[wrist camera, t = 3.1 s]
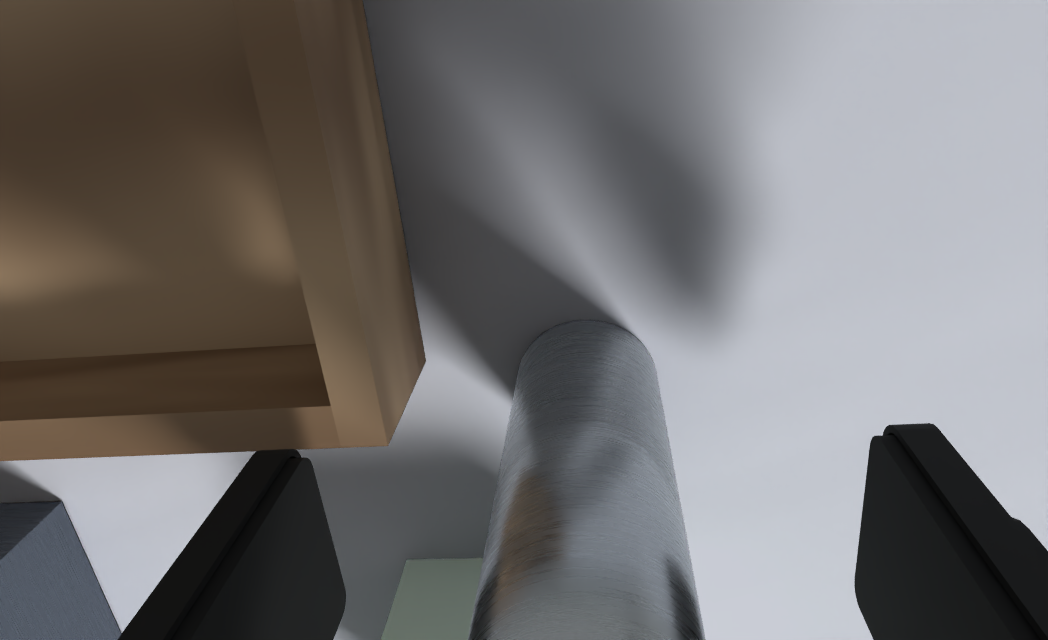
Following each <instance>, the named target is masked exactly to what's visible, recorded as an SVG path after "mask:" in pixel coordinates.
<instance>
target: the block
mask: <svg viewBox="0 0 1048 640" xmlns="http://www.w3.org/2000/svg"><path fill="white" fill-rule="evenodd" d="M120 635H121V632H120V630H119V628H118V626H117V623H116V621H115V619H114V617H113V615H112V612H111V610H110V608H109V606H108V603H107V601H106V599H105V597H104V595H103V592H102V590H101V588H100V586H99V583H98V581H97V579H96V577H95V575H94V572H93V570H92V568H91V566H90V564H89V561H88V559H87V557H86V555H85V552H84V550H83V548H82V546H81V544H80V541H79V539H78V537H77V535H76V532H75V530H74V528H73V526H72V524H71V521H70V519H69V517H68V515H67V512H66V510H65V508H64V506H63V504H62V502H39V503H7V504H0V640H117V639H118V638H119V637H120Z"/></svg>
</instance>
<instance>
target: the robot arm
mask: <svg viewBox="0 0 1048 640" xmlns="http://www.w3.org/2000/svg"><path fill="white" fill-rule="evenodd" d="M855 593H856V598H857V602H858V605H859V608H860V610H861V613H862V615H863V617H864V619H865V621H866V624H867V626H868V628H869V630H870V633H871V635H872V637H873V639H874V640H1048V551H1047V550H1046V549H1045V547H1044V546H1043V545H1042V544H1041V543H1040V541H1039V540H1038V539H1037V538H1036V537H1035V535H1034V534H1033V533H1032V532H1031V531H1030V529H1029V528H1027V527H1026V526H1025V525H1024V524H1023V523H1022V522H1021V521H1020V520H1017V519H1015V518H1012V517H1011V516H1010V515H1009V514H1008V513H1007V512H1006V510H1005V509H1004V508H1003V507H1002V505H1001V504H1000V503H999V502H998V501H997V499H996V498H995V497H994V496H993V494H992V493H991V492H990V491H989V490H988V488H987V487H986V486H985V485H984V484H983V482H982V481H981V480H980V479H979V477H978V476H977V475H976V474H975V473H974V471H973V470H972V469H971V468H970V467H969V465H968V464H967V463H966V462H965V460H964V459H963V458H962V457H961V456H960V454H959V453H958V452H957V451H956V450H955V448H954V447H953V446H952V445H951V443H950V442H949V441H948V440H947V439H946V437H945V436H944V435H943V434H942V433H941V431H940V430H939V429H938V428H937V427H936V426H935V425H934V424H930V423H927V424H902V425H889V426H887V427H886V428H885V430H884V432H883V436H874V437H873V438H872V440H871V443H870V450H869V459H868V467H867V476H866V485H865V493H864V502H863V511H862V520H861V528H860V537H859V546H858V555H857V563H856V572H855ZM345 602H346V592H345V586H344V583H343V579H342V575H341V571H340V567H339V564H338V560H337V556H336V552H335V549H334V545H333V541H332V537H331V534H330V530H329V526H328V522H327V518H326V515H325V511H324V507H323V503H322V500H321V496H320V492H319V488H318V485H317V481H316V477H315V473H314V469H313V466H312V463H311V461H310V460H309V459H308V458H301V455H300V454H299V452H298V451H297V450H295V449H278V450H260V451H256V452H255V453H254V454H253V455H252V457H251V458H250V459H249V461H248V462H247V464H246V465H245V466H244V468H243V469H242V470H241V472H240V473H239V474H238V476H237V477H236V479H235V480H234V481H233V483H232V484H231V485H230V487H229V488H228V489H227V491H226V492H225V494H224V495H223V496H222V498H221V499H220V500H219V502H218V503H217V504H216V506H215V507H214V509H213V510H212V511H211V513H210V514H209V515H208V517H207V518H206V519H205V521H204V522H203V524H202V525H201V526H200V528H199V529H198V530H197V532H196V533H195V534H194V536H193V537H192V539H191V540H190V541H189V543H188V544H187V545H186V547H185V548H184V549H183V551H182V552H181V554H180V555H179V556H178V558H177V559H176V560H175V562H174V563H173V564H172V566H171V567H170V569H169V570H168V571H167V573H166V574H165V575H164V577H163V578H162V579H161V581H160V582H159V584H158V585H157V586H156V588H155V589H154V590H153V592H152V593H151V594H150V596H149V597H148V599H147V600H146V601H145V603H144V604H143V605H142V607H141V608H140V609H139V611H138V612H137V614H136V615H135V616H134V618H133V619H132V620H131V622H130V623H129V624H128V626H127V627H126V629H125V630H124V631H123V633H122V634H121V635H120V637H119V638H118V639H117V640H333V639H334V636H335V634H336V631H337V629H338V626H339V624H340V621H341V618H342V616H343V613H344V609H345Z"/></svg>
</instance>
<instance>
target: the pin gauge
mask: <svg viewBox="0 0 1048 640" xmlns="http://www.w3.org/2000/svg"><path fill="white" fill-rule="evenodd" d="M468 640H706V639H705V634H704V629H703V623H702V618H701V612H700V607H699V601H698V596H697V590H696V585H695V579H694V574H693V569H692V563H691V558H690V552H689V547H688V541H687V536H686V530H685V525H684V520H683V514H682V509H681V503H680V498H679V492H678V487H677V481H676V476H675V470H674V465H673V460H672V454H671V449H670V443H669V438H668V432H667V427H666V421H665V416H664V410H663V405H662V400H661V394H660V389H659V383H658V378H657V372H656V368H655V365H654V362H653V360H652V357H651V355H650V354H649V352H648V350H647V349H646V348H645V346H644V345H643V344H642V343H641V342H640V341H639V340H638V339H637V338H636V337H635V336H633V335H632V334H631V333H629V332H628V331H626V330H624V329H622V328H620V327H618V326H616V325H613V324H610V323H606V322H602V321H596V320H578V321H571V322H567V323H563V324H560V325H558V326H555V327H553V328H551V329H549V330H547V331H546V332H544V333H543V334H542V335H540V336H539V337H538V338H537V339H536V340H535V341H534V342H533V343H532V344H531V345H530V346H529V348H528V349H527V351H526V352H525V354H524V355H523V358H522V360H521V363H520V366H519V370H518V375H517V380H516V386H515V391H514V396H513V402H512V407H511V412H510V418H509V423H508V428H507V434H506V439H505V444H504V450H503V455H502V460H501V466H500V471H499V476H498V482H497V487H496V492H495V498H494V503H493V508H492V514H491V519H490V524H489V530H488V535H487V540H486V546H485V551H484V556H483V561H482V567H481V572H480V577H479V583H478V588H477V593H476V599H475V604H474V609H473V615H472V620H471V625H470V631H469V636H468Z"/></svg>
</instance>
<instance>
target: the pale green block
mask: <svg viewBox="0 0 1048 640" xmlns="http://www.w3.org/2000/svg"><path fill="white" fill-rule="evenodd" d="M482 561H483V558H455V559H407V560H406V563H405V566H404V570H403V573H402V576H401V579H400V582H399V585H398V588H397V591H396V594H395V597H394V600H393V603H392V607H391V610H390V613H389V616H388V619H387V622H386V625H385V628H384V631H383V634H382V637H381V640H468V636H469V631H470V625H471V620H472V615H473V609H474V604H475V599H476V593H477V588H478V583H479V577H480V572H481V567H482Z"/></svg>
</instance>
